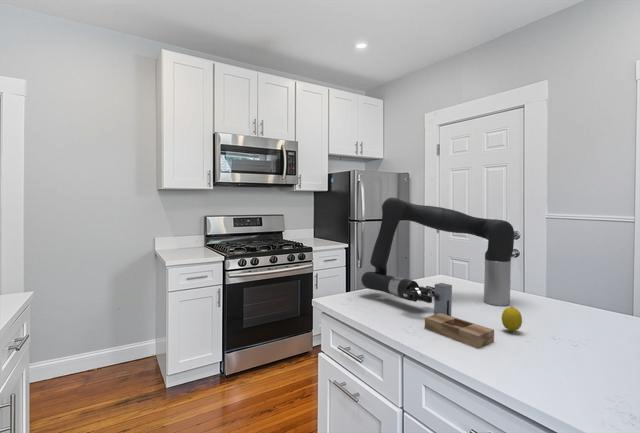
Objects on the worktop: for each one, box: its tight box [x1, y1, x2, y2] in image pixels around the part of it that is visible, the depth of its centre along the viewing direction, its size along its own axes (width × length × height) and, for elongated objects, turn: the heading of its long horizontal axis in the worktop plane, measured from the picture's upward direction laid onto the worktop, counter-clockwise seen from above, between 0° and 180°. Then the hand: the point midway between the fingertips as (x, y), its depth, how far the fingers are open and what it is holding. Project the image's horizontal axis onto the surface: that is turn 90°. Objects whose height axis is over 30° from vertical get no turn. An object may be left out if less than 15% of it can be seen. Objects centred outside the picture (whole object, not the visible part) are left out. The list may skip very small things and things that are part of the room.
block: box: [433, 282, 453, 316], centre depth 117 cm, size 4×4×12 cm
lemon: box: [501, 306, 523, 333], centre depth 106 cm, size 6×6×8 cm
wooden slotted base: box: [424, 313, 495, 349], centre depth 103 cm, size 8×18×4 cm, turn 35°
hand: (439, 298), depth 118 cm, fingers open, 8 cm apart
